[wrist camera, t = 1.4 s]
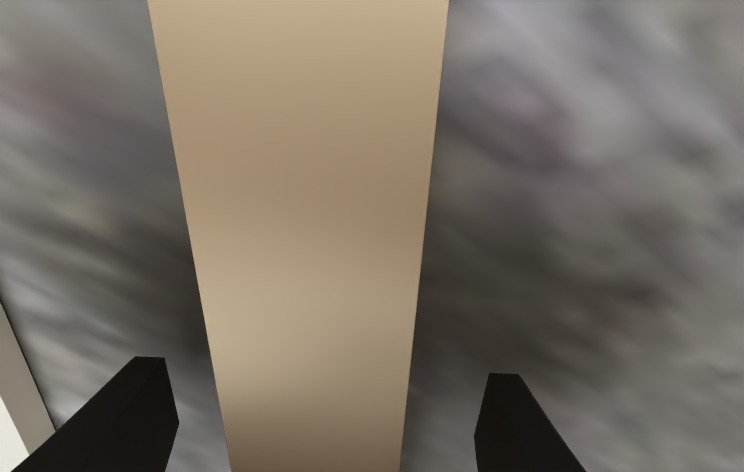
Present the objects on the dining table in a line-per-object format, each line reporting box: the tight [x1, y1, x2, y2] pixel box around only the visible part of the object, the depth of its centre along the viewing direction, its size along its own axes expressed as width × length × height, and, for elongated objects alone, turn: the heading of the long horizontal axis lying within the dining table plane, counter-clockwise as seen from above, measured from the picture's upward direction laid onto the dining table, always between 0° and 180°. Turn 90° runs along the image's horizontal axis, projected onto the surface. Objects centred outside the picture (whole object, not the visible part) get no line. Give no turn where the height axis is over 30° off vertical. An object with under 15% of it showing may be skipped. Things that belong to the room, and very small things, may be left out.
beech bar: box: [147, 0, 449, 472], centre depth 11 cm, size 18×3×4 cm, turn 178°
